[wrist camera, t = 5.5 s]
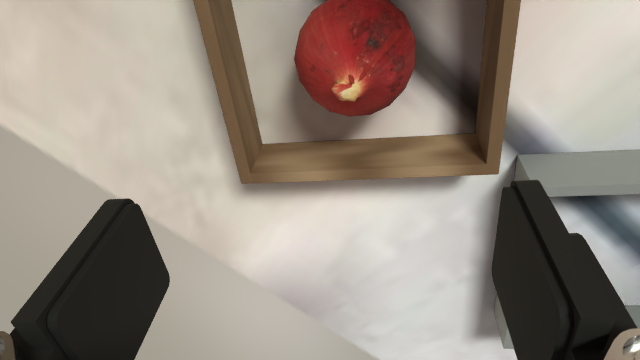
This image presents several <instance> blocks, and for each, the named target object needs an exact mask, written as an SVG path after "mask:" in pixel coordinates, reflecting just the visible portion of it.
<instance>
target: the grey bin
mask: <svg viewBox="0 0 640 360" xmlns="http://www.w3.org/2000/svg"><path fill="white" fill-rule="evenodd" d="M519 180H539V181H540V183H541V184H542V186H543V188H544V190H545V191H546V193H547V195H548V197H556V196H590V195H624V194H640V150H620V151H597V152H574V153H550V154H527V155H518V156H517V163H516V169H515V176H514V181H519ZM625 308H626V309H627V311H628V313H629V314H630V316H631V318H632V319H633V321H634V323H635V324H636V326H637V328H640V306H625ZM494 314H495V318H496V321H497V325H498V329H499V333H500V337H501V340H502V344H503V348H504V349H514V346H513V343H512V340H511V337H510V334H509V330H508V327H507V324H506V321H505V317H504V314H503V311H502V308H501V305H500V301H499V298H498V295H497V293H496V300H495V306H494Z"/></svg>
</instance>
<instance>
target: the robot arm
mask: <svg viewBox="0 0 640 360" xmlns="http://www.w3.org/2000/svg"><path fill="white" fill-rule="evenodd" d="M492 277H493V282H494V285H495V288H496V292H497V295H498V298H499V301H500V305H501V308H502V311H503V314H504V317H505V321H506V324H507V327H508V330H509V334H510V337H511V340H512V343H513V346H514V350H515V353H516V356H517V359H518V360H640V328H637V326H636V324H635V323H634V321H633V319H632V318H631V316H630V314H629V313H628V311H627V309H626V308H625V306H624V304H623V302H622V301H621V299H620V297H619V296H618V294H617V292H616V291H615V289H614V287H613V286H612V284H611V282H610V281H609V279H608V277H607V276H606V274H605V272H604V270H603V269H602V267H601V265H600V264H599V262H598V260H597V259H596V257H595V255H594V254H593V252H592V250H591V249H590V247H589V245H588V244H587V242H586V240H585V239H584V238H583V236H582V235H580V234H578V233H568V231H567V229H566V227H565V225H564V224H563V222H562V220H561V218H560V216H559V215H558V213H557V211H556V209H555V208H554V206H553V204H552V202H551V200H550V199H549V197H548V195H547V193H546V191H545V190H544V188H543V186H542V184H541V183H540V181H539V180H519V181H512V182H511V185H510V187H504V188H503V190H502V196H501V203H500V211H499V218H498V226H497V233H496V240H495V248H494V255H493V263H492ZM169 282H170V279H169V273H168V271H167V269H166V266H165V264H164V262H163V259H162V257H161V254H160V252H159V250H158V247H157V245H156V243H155V240H154V238H153V236H152V233H151V231H150V229H149V226H148V224H147V221H146V219H145V217H144V214H143V212H142V210H141V208H140V206H139V205H138V204H135V203H134V202H133V201H132V200H131V199H110V200H107V201H106V202H104V204H103V205H102V206H101V207H100V209H99V210H98V211H97V213H96V214H95V215H94V216H93V218H92V219H91V220H90V221H89V223H88V224H87V225H86V227H85V228H84V229H83V230H82V232H81V233H80V234H79V235H78V237H77V238H76V239H75V241H74V242H73V243H72V244H71V246H70V247H69V248H68V250H67V251H66V252H65V253H64V255H63V256H62V257H61V259H60V260H59V261H58V262H57V263H56V265H55V266H54V267H53V269H52V270H51V271H50V272H49V274H48V275H47V276H46V278H45V279H44V280H43V281H42V283H41V284H40V285H39V287H38V288H37V289H36V290H35V292H34V293H33V294H32V295H31V297H30V298H29V299H28V300H27V302H26V303H25V304H24V306H23V307H22V308H21V309H20V311H19V312H18V313H17V315H16V316H15V317H14V319H13V320H12V321H11V323H12V324H13V326H14V327H15V328H14V330H13V331H12V332H11V333H10V334H8V333H6V332H4V331H0V360H134V359H135V357H136V355H137V352H138V350H139V348H140V346H141V344H142V342H143V340H144V338H145V335H146V333H147V331H148V329H149V327H150V325H151V323H152V321H153V319H154V317H155V314H156V312H157V310H158V308H159V306H160V304H161V302H162V300H163V298H164V295H165V293H166V291H167V289H168V286H169Z"/></svg>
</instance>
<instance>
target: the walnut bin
mask: <svg viewBox="0 0 640 360" xmlns="http://www.w3.org/2000/svg"><path fill="white" fill-rule="evenodd" d="M193 1H194V4H195V8H196V12H197V16H198V20H199V23H200V27H201V31H202V35H203V39H204V43H205V46H206V50H207V54H208V58H209V62H210V65H211V69H212V73H213V77H214V81H215V84H216V88H217V92H218V96H219V100H220V104H221V107H222V111H223V115H224V119H225V123H226V126H227V130H228V134H229V138H230V142H231V145H232V149H233V153H234V157H235V161H236V164H237V168H238V172H239V176H240V180H241V184H247V183H274V182H301V181H328V180H355V179H382V178H409V177H436V176H463V175H490V174H499V166H500V158H501V150H502V142H503V135H504V127H505V119H506V111H507V104H508V96H509V88H510V80H511V73H512V65H513V57H514V49H515V42H516V34H517V26H518V18H519V10H520V3H521V0H487V7H486V18H485V30H484V41H483V52H482V63H481V75H480V86H479V97H478V109H477V120H476V131H475V134H456V135H436V136H416V137H396V138H376V139H356V140H337V141H317V142H297V143H277V144H262V141H261V136H260V131H259V127H258V122H257V118H256V113H255V108H254V104H253V99H252V95H251V90H250V85H249V81H248V76H247V72H246V67H245V62H244V58H243V53H242V49H241V44H240V39H239V35H238V30H237V26H236V21H235V16H234V12H233V7H232V3H231V0H193Z"/></svg>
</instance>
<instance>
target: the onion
mask: <svg viewBox="0 0 640 360" xmlns="http://www.w3.org/2000/svg"><path fill="white" fill-rule="evenodd" d="M294 60H295V64H296V68H297V72H298V76H299V80H300V82H301V83H302V85H303V86H304V87H305V89H306V90H307V92H308V93H309V95H310V96H311V97H312V99H313V100H314V101H316V102H317V103H319V104H320V105H322V106H323V107H324V108H326V109H327V110H329V111H330V112H334V113H338V114H342V115H346V116H360V115H371V114H373V113H375V112H377V111H379V110H381V109H383V108H385V107H388V106H389V105H390V104H391V103H392V102H393V101H394V100H395V99H396V98H397V97H398V96H399V95H400V94H401V93H402V92H403V90H404V89H405V88H406V85H407V83H408V81H409V79H410V77H411V74H412V72H413V70H414V66H415V37H414V35H413V32H412V30H411V28H410V25H409V23H408V20H407V18H406V15H405V14H404V13H403V12H402V11H401V10H400V9H398V8H397V7H396V6H395V5H394V4H393V3H391V2H390V1H389V0H327V1H325V2H324V3H323V4H321V5H320V6H318V7H317V8H316V9H314V10H313V11H312V12H311V14H310V16H309V17H308V19H307V20H306V22H305V23H304V25H303V27H302V28H301V30H300V33H299V37H298V42H297V47H296V51H295V57H294Z"/></svg>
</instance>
